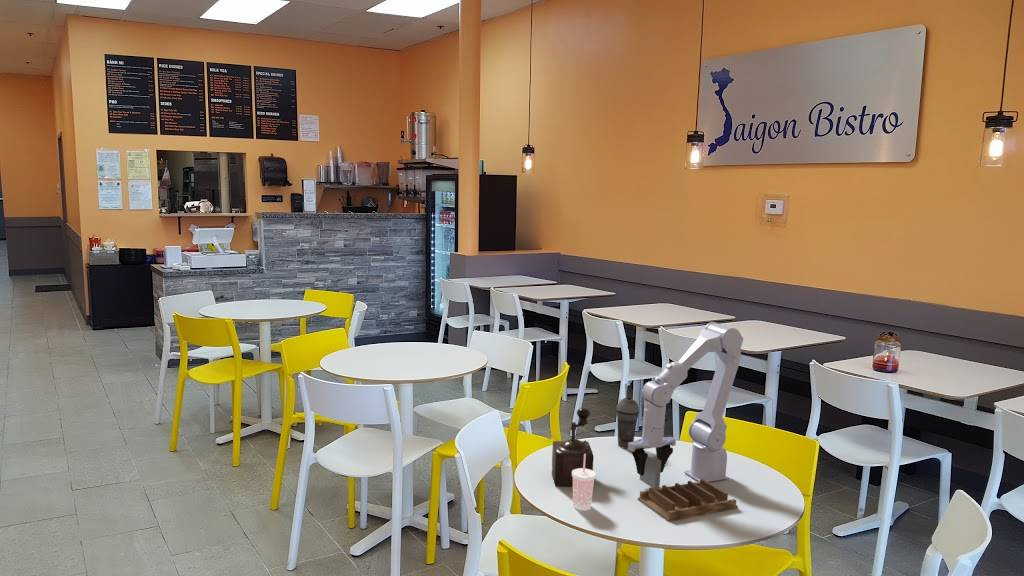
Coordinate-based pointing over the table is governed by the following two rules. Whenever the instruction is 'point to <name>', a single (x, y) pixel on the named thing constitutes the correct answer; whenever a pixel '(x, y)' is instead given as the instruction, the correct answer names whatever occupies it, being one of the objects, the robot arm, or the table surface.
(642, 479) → the grey upright slab
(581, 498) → the beverage cup
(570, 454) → the coffee grinder
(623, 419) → the beverage cup
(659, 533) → the table surface
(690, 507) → the dish rack
